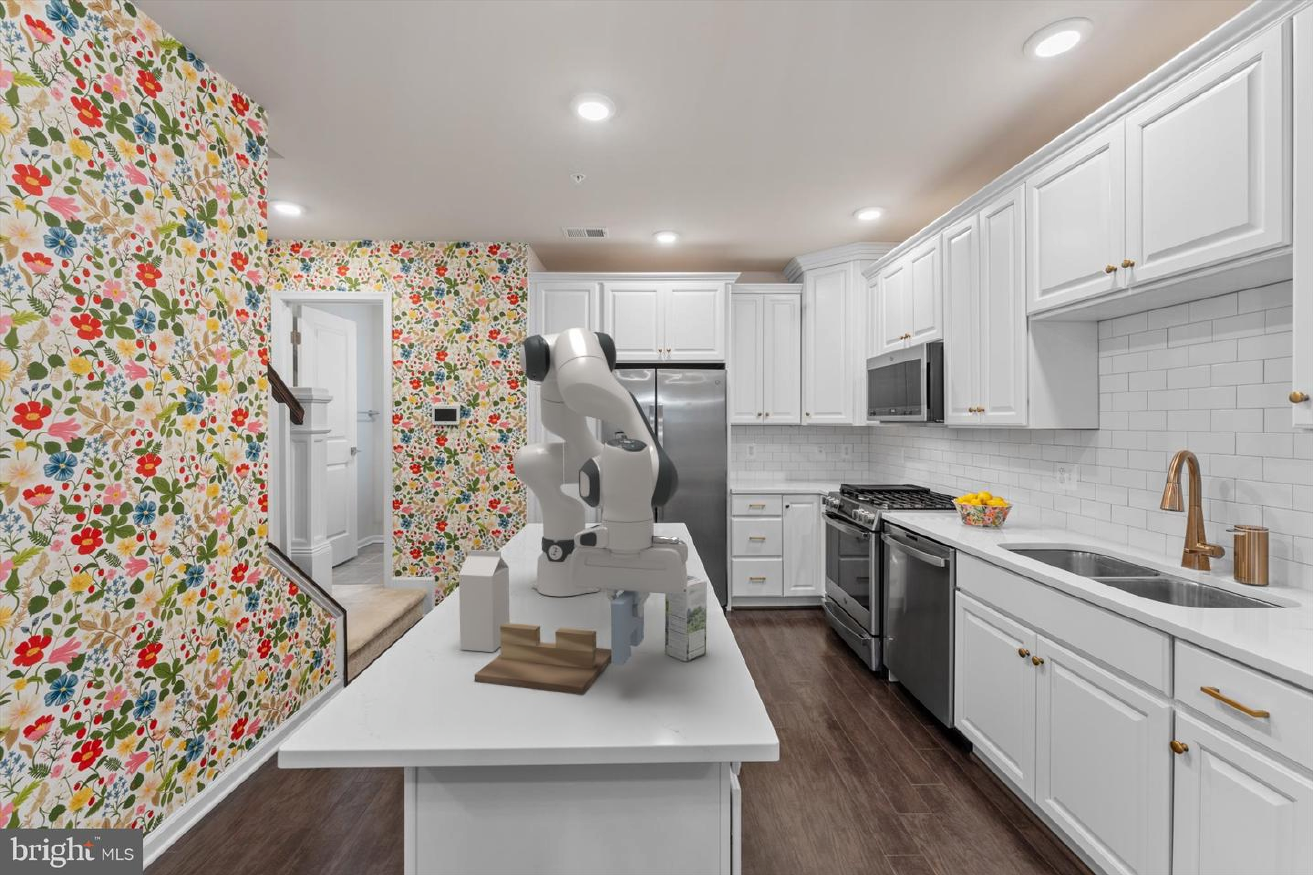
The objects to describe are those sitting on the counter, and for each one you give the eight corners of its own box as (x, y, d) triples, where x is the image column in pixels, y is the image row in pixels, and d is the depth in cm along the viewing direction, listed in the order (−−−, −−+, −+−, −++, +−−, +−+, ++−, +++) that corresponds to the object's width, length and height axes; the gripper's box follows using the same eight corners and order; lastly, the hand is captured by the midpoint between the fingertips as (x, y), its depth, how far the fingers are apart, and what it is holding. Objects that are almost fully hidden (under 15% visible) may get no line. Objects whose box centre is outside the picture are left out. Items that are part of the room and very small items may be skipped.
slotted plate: (633, 637, 105) (633, 582, 105) (643, 638, 105) (643, 583, 104) (611, 664, 94) (610, 603, 93) (623, 665, 93) (622, 604, 93)
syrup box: (684, 645, 115) (684, 573, 114) (707, 654, 111) (707, 579, 110) (664, 654, 111) (664, 579, 110) (687, 663, 107) (686, 585, 106)
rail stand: (519, 645, 115) (519, 610, 115) (614, 655, 110) (614, 618, 110) (474, 681, 100) (473, 639, 100) (582, 694, 95) (582, 651, 95)
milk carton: (493, 653, 112) (491, 555, 112) (460, 650, 114) (458, 554, 113) (510, 639, 119) (508, 547, 118) (478, 636, 120) (476, 546, 120)
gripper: (691, 533, 99) (691, 614, 99) (579, 528, 104) (580, 604, 105) (683, 541, 93) (684, 627, 93) (565, 535, 98) (566, 616, 98)
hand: (628, 615), depth 99 cm, fingers closed on slotted plate, 2 cm apart
